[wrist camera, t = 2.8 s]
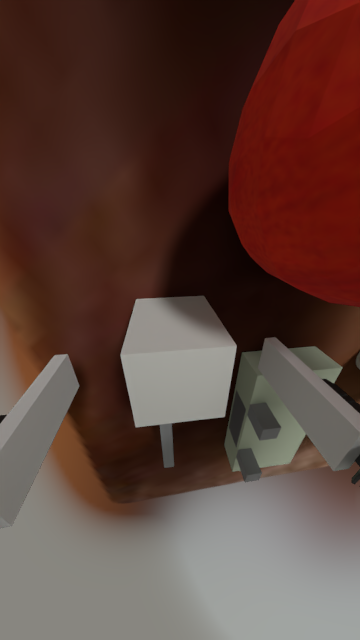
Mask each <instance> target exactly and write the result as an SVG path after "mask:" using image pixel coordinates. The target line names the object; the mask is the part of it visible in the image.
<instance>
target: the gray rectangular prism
mask: <svg viewBox="0 0 360 640" xmlns="http://www.w3.org/2000/svg"><path fill="white" fill-rule="evenodd" d="M236 348H237V345H236V344H235V342H234V341H233V339H232V338H231V336H230V335H229V333H228V332H227V330H226V328H225V327H224V325H223V324H222V322H221V321H220V319H219V318H218V316H217V315H216V313H215V312H214V310H213V309H212V307H211V306H210V304H209V303H208V301H207V300H206V298H205V297H204V296H188V297H168V298H149V299H136V301H135V305H134V308H133V312H132V315H131V319H130V323H129V326H128V330H127V333H126V337H125V340H124V344H123V347H122V351H121V354H120V356H121V361H122V365H123V370H124V375H125V379H126V384H127V389H128V393H129V398H130V403H131V407H132V412H133V417H134V421H135V426H136V427H144V426H152V425H161V424H169V423H178V422H186V421H195V420H203V419H212V418H220V417H225V413H226V407H227V401H228V395H229V389H230V383H231V378H232V372H233V366H234V360H235V354H236Z"/></svg>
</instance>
